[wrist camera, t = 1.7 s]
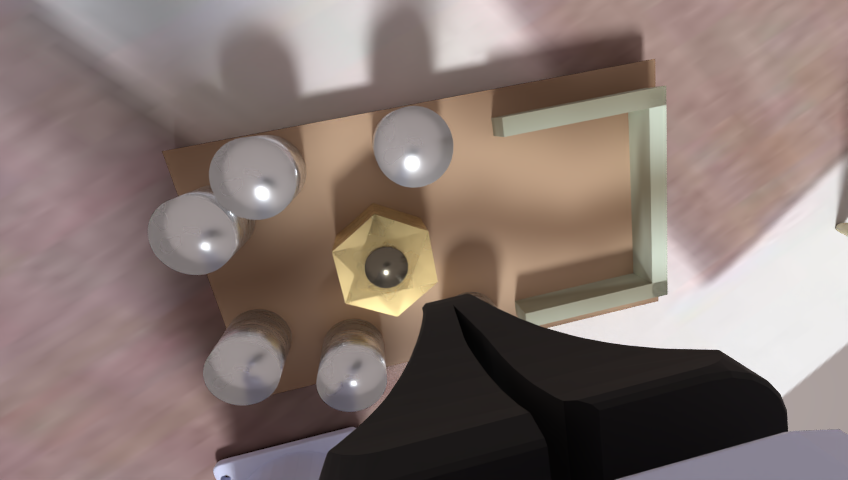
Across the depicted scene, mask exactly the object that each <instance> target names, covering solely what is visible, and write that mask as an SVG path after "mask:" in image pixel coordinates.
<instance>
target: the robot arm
mask: <svg viewBox="0 0 848 480" xmlns="http://www.w3.org/2000/svg"><path fill="white" fill-rule="evenodd" d="M422 310H423V319H422V324H421V328H420V332H419V336H418V339H417V342H416V345H415V347H414V350H413V352H412V355H411V357H410V359H409V362H408V364H407V366H406V368H405V369H404V371H403V373H402V375H401V377H400V378H399V380H398V381H397V383H396V384H395V386H394V387H393V389H392V390H391V392H390V393H389V395H388V396H387V397H386V399H385V400H384V401H383V402H382V403H381V404H380V405H379V407H378V408H377V409H376V410H375V411H374V412H373V413H372V414H371V415H370V416H369V417H368V418H367V419H366V420H365V421H364V422H363V423H362V424H361V425H360V426H359V427H357V428H355V427H349V428H345V429H341V430H337V431H333V432H329V433H325V434H321V435H317V436H313V437H309V438H305V439H301V440H297V441H294V442H290V443H286V444H282V445H278V446H274V447H270V448H266V449H262V450H258V451H254V452H250V453H246V454H242V455H238V456H234V457H231V458H227V459H223V460H220V461H218V462H217V463H216V465H215V467H214V470H213V472H214V476H215V478H216V480H848V435H847V434H846V433H845V432H843V431H841V430H840V429H830V430H806V431H790V432H788V424H787V410H786V407H785V405H784V402H783V400H782V397H781V395H780V393H779V392H778V391H777V390H776V389H775V388H774V387H773V386H772V385H771V384H770V383H769V382H768V381H767V380H765V379H764V378H762V377H761V376H759V375H757V374H756V373H754V372H753V371H751V370H750V369H748V368H746V367H745V366H743V365H742V364H740V363H739V362H737V361H735V360H734V359H732V358H731V357H729V356H728V355H726V354H724V353H723V352H721V351H720V350H696V349H660V348H649V347H638V346H628V345H620V344H613V343H607V342H601V341H596V340H590V339H585V338H581V337H576V336H572V335H568V334H565V333H561V332H558V331H554V330H550V329H547V328H544V327H541V326H538V325H536V324H533V323H531V322H528V321H525V320H523V319H520V318H518V317H516V316H513V315H511V314H509V313H507V312H505V311H503V310H501V309H498V308H496V307H494V306H492V305H491V304H489V303H487V302H485V301H483V300H481V299H479V298H477V297H475V296H473V295H471V294H463V295H459V296H455V297H450V298H446V299H442V300H438V301H433V302H429V303H425V305H424V306H423V307H422ZM224 475H228V476H230V477H225V476H224Z"/></svg>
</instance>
